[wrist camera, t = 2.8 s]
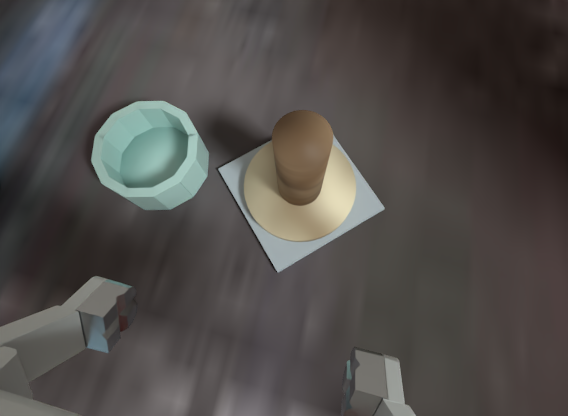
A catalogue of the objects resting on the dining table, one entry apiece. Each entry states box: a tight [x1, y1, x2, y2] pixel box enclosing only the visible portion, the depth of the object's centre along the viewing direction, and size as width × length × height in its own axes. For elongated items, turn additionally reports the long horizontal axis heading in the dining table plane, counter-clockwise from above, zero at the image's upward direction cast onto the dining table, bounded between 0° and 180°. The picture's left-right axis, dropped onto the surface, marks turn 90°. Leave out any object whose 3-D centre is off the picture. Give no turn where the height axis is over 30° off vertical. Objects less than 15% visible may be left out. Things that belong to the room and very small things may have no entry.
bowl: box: [91, 101, 209, 210], centre depth 27 cm, size 8×8×4 cm
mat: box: [218, 135, 385, 272], centre depth 28 cm, size 10×10×1 cm
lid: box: [244, 110, 356, 242], centre depth 23 cm, size 9×9×9 cm
